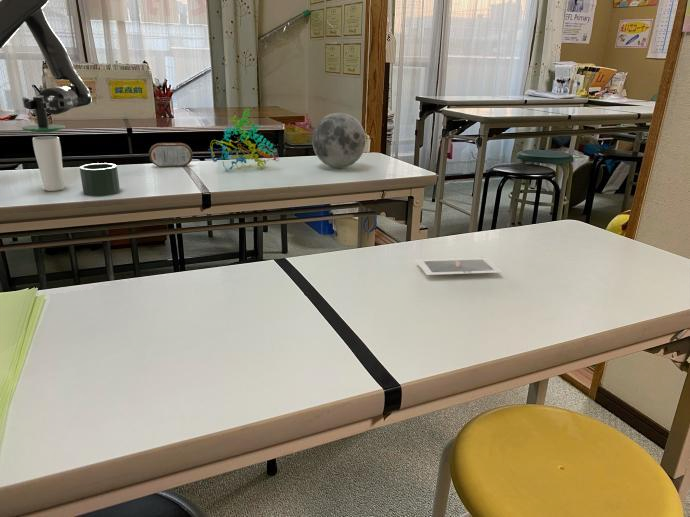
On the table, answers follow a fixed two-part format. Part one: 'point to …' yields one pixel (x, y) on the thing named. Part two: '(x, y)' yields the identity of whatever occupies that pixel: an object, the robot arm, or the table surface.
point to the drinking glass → (49, 161)
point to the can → (99, 179)
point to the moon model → (338, 140)
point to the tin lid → (41, 120)
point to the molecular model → (245, 143)
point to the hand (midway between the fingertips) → (35, 105)
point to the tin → (170, 154)
